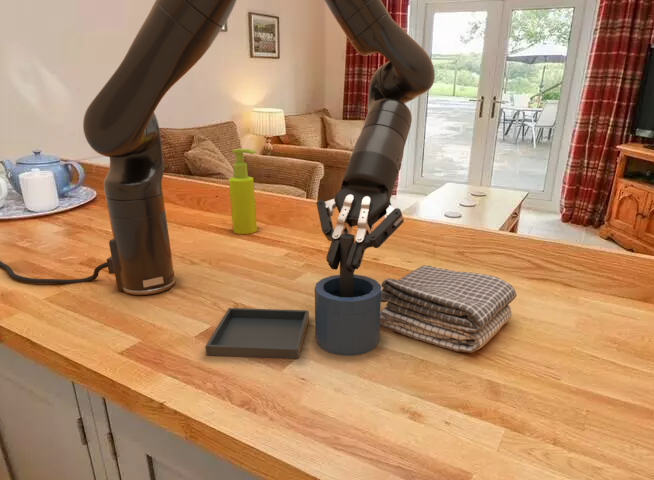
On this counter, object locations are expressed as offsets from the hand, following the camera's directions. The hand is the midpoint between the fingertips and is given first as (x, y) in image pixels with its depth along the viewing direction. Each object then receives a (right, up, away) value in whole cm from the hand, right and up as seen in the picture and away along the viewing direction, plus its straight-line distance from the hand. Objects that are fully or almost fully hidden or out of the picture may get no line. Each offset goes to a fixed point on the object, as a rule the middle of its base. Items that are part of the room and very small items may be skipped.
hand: (341, 268), depth 68 cm
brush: (+1, -9, +6) cm, 11 cm away
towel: (+16, -9, +12) cm, 22 cm away
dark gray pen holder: (+1, -11, +6) cm, 12 cm away
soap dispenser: (-24, +11, +56) cm, 62 cm away
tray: (-12, -10, +6) cm, 17 cm away
